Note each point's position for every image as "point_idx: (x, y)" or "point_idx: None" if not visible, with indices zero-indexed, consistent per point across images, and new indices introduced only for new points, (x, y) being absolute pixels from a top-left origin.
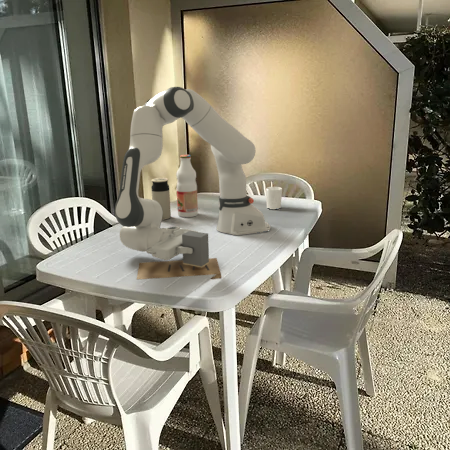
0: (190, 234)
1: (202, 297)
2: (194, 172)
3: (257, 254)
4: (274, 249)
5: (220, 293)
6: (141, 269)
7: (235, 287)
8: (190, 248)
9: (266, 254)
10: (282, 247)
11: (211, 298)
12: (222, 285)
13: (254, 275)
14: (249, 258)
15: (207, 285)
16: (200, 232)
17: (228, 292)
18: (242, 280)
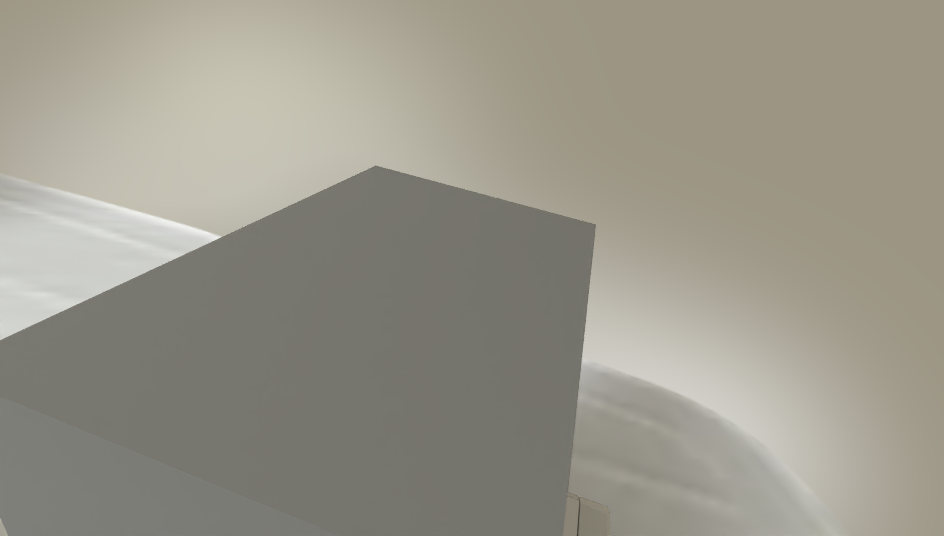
0: (463, 332)
1: (830, 528)
2: None
3: (73, 270)
4: (33, 214)
5: (704, 434)
6: None
7: (594, 373)
8: (608, 517)
9: (103, 244)
10: (24, 193)
11: (794, 473)
12: (600, 429)
13: None
14: None
15: (647, 520)
16: (301, 205)
17: (668, 400)
18: None
